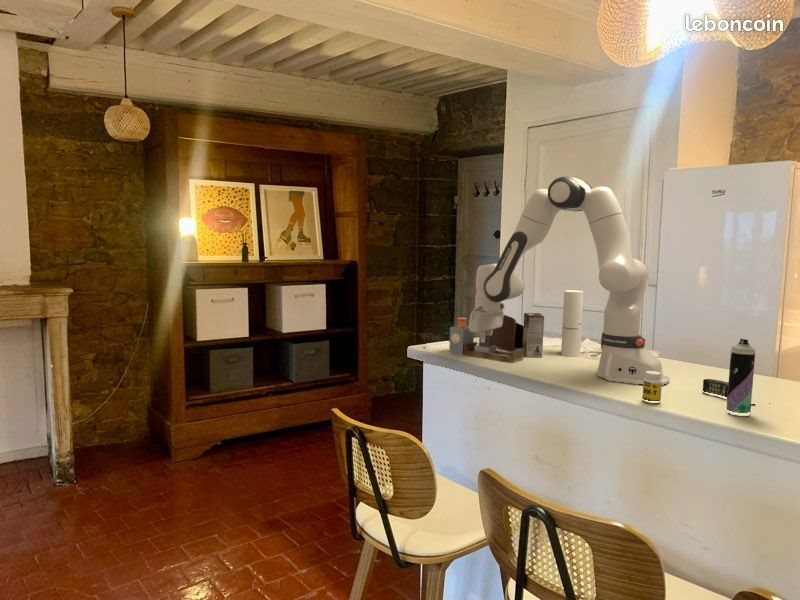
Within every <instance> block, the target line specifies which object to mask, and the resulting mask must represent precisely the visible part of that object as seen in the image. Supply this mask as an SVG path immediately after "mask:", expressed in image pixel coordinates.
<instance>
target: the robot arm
mask: <svg viewBox="0 0 800 600" xmlns="http://www.w3.org/2000/svg"><path fill="white" fill-rule="evenodd" d="M560 211H564V212H565V211H569V212H581V211H583V212H584V215H585V216H586V220H587V223H588V226H589V230H590V232H591V235H592V238H593V241H594V244H595V248H596V249H595V250H596V255H597V261H598V262H597V263H598V269H599V271H598V273H599V274H598V281H599V283H600V285H601V286H602V288H603V289H604V290H606V291H608V292H609V295H608V299H607V302H606V305H605V307H604V311H603V313H604V314H603V328H602V329H603V332H602V333H601V338H600V349H601V353H600V358H599V362H598V366H597V369H596V372H595V374H596V376H598V377H599V378H602V379H604V378H605V379H606V381H607V380H608V381H607V382H613V381H615V383H622V382H624V384H630V383H633V385H639V384H643V381H644V378H646V377H645V374H646V371H656V372H660V373H661V378H660V380H661V381H662V385H663V386H665V385H664V384H666V385H668V384H669V383H670V382H669V381H671V380H670V377H669V376H667V375H663V373H664V371H663V365H662V363H661V362H662V361H661V360H660V359H659V358H657V357H656V356H655V355H654V354H653V353H651V352H650V351H649V350H648V349H647V348H645V345H646V341H647V340H646V339H647V338H646V337H643V336H642V335H640V323H641V311H642V304H643V301H644V297H645V296H644V295H645V291H646V286H647V281H648V278H649V271H648V268H647V266H646V265H645V263H643V262H642V261H640V260H639V259H637V258H633V254H632V247H631V235H630V231H629V228H628V226H627V222H626V220H625V216H624V213H623V210H622V208H621V206H620V203H619V201H618V199H617V196H616V195H615V193H614V191H613V190H612V189H611V188H610V187H607V186H597V187H592V186H591V184H589V182H587V181H584V180H582V179H579V178H578V177H573V176H567V175H566V176H560V177H557V178H555V179H554V180H553V181H551V183H550V184H549V186H548V188H539V189H536V190H534V192H533V193H532V194H531V196H530V197H529V199H528V201H527V202H526V205H525V207H524V208H523V210H522V213H521V215H520V218H519V221H518V222H517V224H516V226H515V228H514V231H513V233H512V235H511V236H510V238H509V240H508V241H507V243H506V245H505V247H504V250H503V251H502V254H501V255H500V257H499V260H498V261H497V262H490V263H489V262H488V263H482V264H480V265H479V266H478V267H477V270H476V274H475V275H476V277H475V288H476V294H475V296H474V297H475V298H474V299H475V301H474V308H473V310H472V311H471V313H470V315H469V321H468V326H469V331H470V332H473V333H474V334H478V336H479V335H480V342H482V343H484V342H486V338H485V332H487V334H486V335H490V336H491V335H492V333H493V329H496V328H500V327H502V325H503V316H504V315H505V313H504V309H505V303H504V302H503V301H506V300H507V301H508V300H512V299H516V298H518V297H520V296H521V295H522V294H523V292H524V290H525V281H524V279H523V277H522V276H521V275H520V274H518V273H515V270H516V268H517V265H518V264H519V262H520V260H521V258H522V257H523V255H524V254H525V253H526V252H527V251H528V250H531V249H532V248H534V247H535V246H537V245H539V244H541V243H542V242H543V241H544V240H545V239H546V237H547V235H548V233H549V232H550V229H551V227H552V225H553V222H554V219H555V217H556V215H558V213H559V212H560ZM605 379H604V380H605ZM668 382H669V383H668ZM667 383H668V384H667Z"/></svg>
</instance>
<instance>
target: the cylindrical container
mask: <svg viewBox="0 0 800 600" xmlns="http://www.w3.org/2000/svg"><path fill="white" fill-rule="evenodd" d="M583 305H584V291H583V290H572V289H569V290H568V289H567V290H564V292H563V309H562V310H563V311H562V329H561V330H562V331H561V350H560V351H561V352H560V353H561V356H564V357H569V358H571V357H572V358H577V357H580V356H581V349H582V348H581V347H582V330H583V329H582V326H583V325H582V323H583V308H584V307H583Z"/></svg>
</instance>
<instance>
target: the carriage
mask: <svg viewBox="0 0 800 600" xmlns="http://www.w3.org/2000/svg"><path fill="white" fill-rule="evenodd" d="M478 336H479V337H478V338H479V340H478V344H477V345H476V346H475V351H476V352H483V353H489V354H496V350H497V347H496V346H495V345H492V336H490V335H485V338H486V342H484V343H482V342H480V335H479V334H478Z"/></svg>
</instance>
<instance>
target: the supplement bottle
mask: <svg viewBox="0 0 800 600" xmlns="http://www.w3.org/2000/svg"><path fill="white" fill-rule="evenodd" d="M645 377H646V378H644V381H643V385H642V395H641V396H642V397H641V400H642V399H644V400H648V401H660V400H661V399H662V398H661V397H662V388H663V387H662V381H661V380H660V378H661V373H660V372H656V371H646V374H645ZM660 402H661V401H660Z"/></svg>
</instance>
